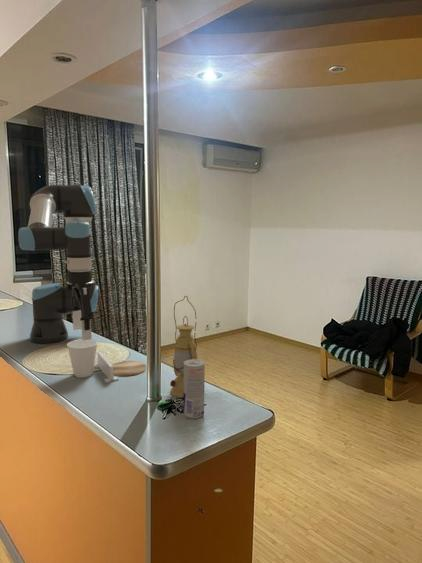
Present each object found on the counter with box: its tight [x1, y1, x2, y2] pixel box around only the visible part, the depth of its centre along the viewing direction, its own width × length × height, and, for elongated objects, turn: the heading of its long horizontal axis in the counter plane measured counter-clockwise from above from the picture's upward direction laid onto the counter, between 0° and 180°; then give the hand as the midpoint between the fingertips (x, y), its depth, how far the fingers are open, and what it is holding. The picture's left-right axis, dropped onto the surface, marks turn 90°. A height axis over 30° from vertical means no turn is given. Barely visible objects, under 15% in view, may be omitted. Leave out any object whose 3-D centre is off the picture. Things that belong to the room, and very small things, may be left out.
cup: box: [66, 338, 99, 379], centre depth 136 cm, size 10×10×11 cm
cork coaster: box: [111, 360, 147, 377], centre depth 142 cm, size 13×13×1 cm
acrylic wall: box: [94, 351, 119, 383], centre depth 138 cm, size 16×4×5 cm, turn 30°
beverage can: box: [183, 358, 206, 419], centre depth 110 cm, size 6×6×15 cm
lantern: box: [169, 295, 199, 398], centre depth 122 cm, size 12×10×30 cm
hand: (82, 334), depth 135 cm, fingers open, 13 cm apart
